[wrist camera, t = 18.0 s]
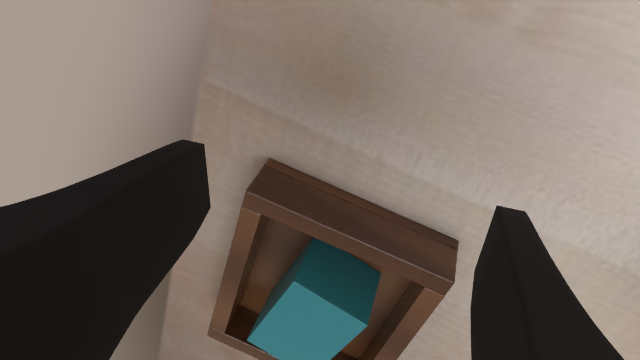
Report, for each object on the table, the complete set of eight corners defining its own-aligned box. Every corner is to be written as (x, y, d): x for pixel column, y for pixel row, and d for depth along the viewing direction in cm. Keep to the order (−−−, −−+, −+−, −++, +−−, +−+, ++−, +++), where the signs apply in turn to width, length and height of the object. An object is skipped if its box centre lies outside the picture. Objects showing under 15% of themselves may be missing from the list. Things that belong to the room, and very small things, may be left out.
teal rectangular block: (270, 292, 28) (246, 340, 26) (315, 232, 25) (293, 281, 22) (328, 327, 29) (310, 378, 26) (381, 272, 25) (367, 326, 22)
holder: (370, 366, 30) (361, 407, 28) (227, 300, 31) (206, 336, 29) (458, 241, 23) (455, 283, 21) (268, 157, 24) (245, 190, 21)
